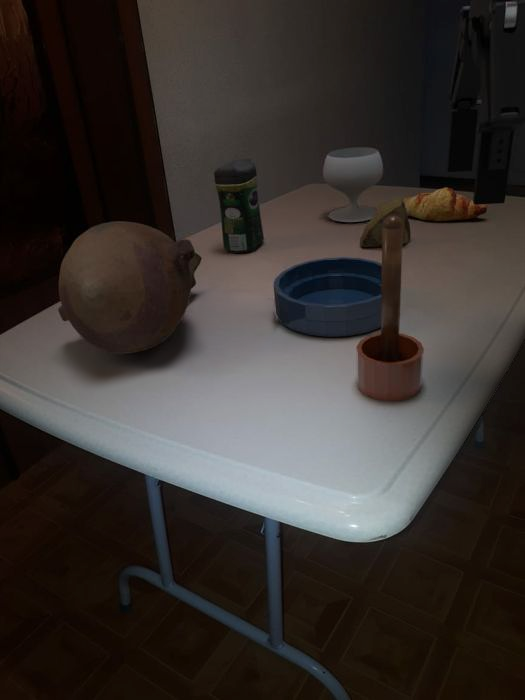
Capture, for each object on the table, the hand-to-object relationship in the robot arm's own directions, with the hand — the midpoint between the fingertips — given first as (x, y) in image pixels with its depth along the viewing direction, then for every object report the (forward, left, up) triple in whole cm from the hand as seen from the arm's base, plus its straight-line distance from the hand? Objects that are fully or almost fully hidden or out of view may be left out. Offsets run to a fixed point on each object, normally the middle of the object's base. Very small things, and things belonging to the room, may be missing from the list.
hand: (472, 185), depth 59 cm
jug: (+49, -4, -25) cm, 55 cm away
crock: (+8, +3, -25) cm, 26 cm away
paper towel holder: (+8, +3, -24) cm, 26 cm away
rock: (+21, -50, -25) cm, 59 cm away
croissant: (+13, -70, -25) cm, 75 cm away
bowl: (+21, -16, -25) cm, 36 cm away
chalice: (+33, -68, -25) cm, 79 cm away
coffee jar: (+51, -43, -25) cm, 71 cm away
